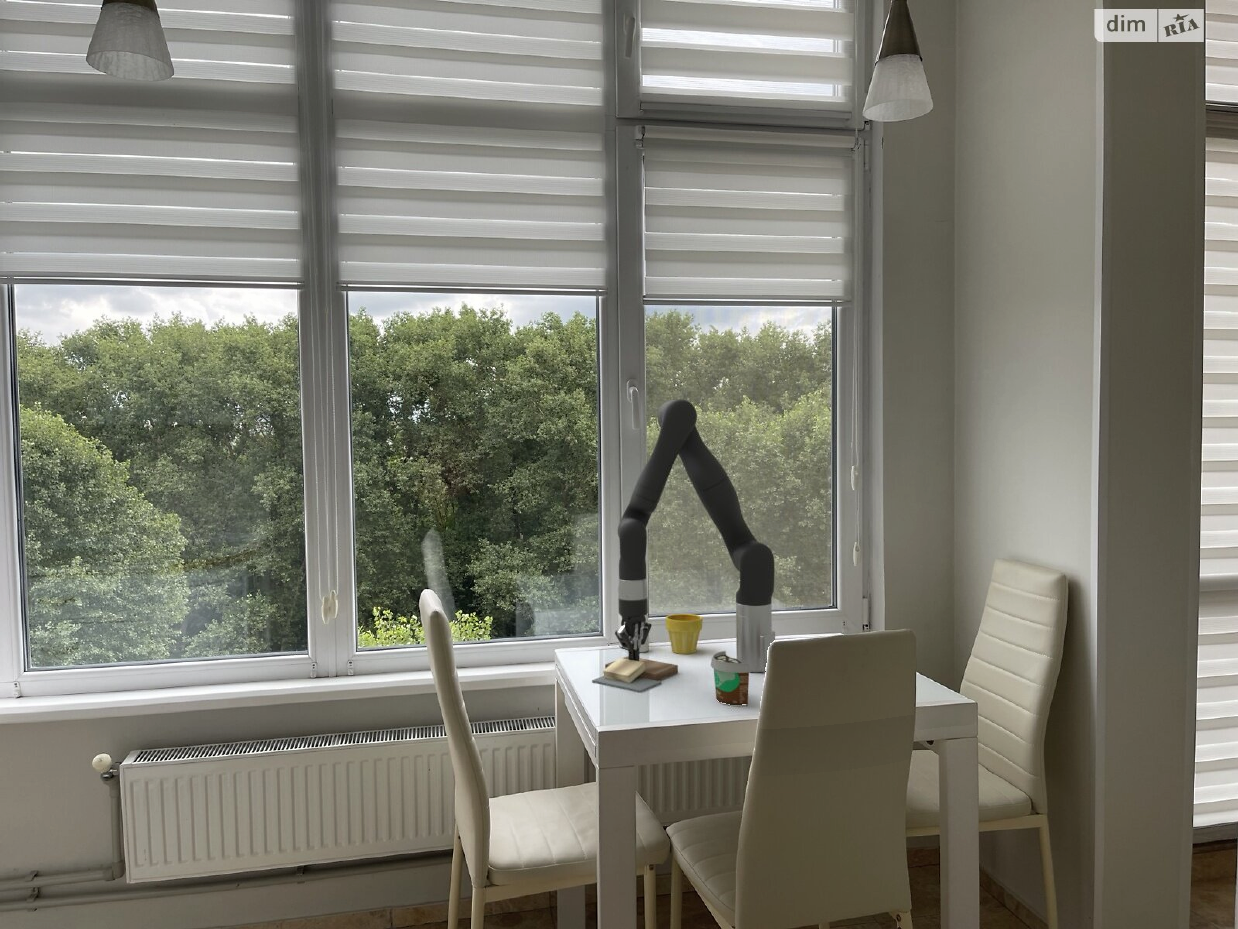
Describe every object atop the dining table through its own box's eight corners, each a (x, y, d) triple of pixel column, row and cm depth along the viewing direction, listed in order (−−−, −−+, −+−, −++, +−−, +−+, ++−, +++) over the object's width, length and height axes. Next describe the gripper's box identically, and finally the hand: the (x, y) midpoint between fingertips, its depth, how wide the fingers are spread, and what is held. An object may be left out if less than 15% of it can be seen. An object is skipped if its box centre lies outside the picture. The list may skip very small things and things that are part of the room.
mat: (661, 683, 212) (661, 681, 212) (640, 692, 205) (640, 690, 205) (613, 674, 221) (613, 672, 221) (592, 682, 214) (592, 680, 214)
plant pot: (701, 646, 248) (701, 613, 247) (703, 655, 238) (703, 620, 237) (665, 646, 248) (665, 613, 248) (666, 656, 238) (665, 621, 238)
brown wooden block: (677, 672, 221) (677, 665, 221) (655, 682, 213) (655, 674, 213) (628, 663, 231) (628, 656, 231) (605, 672, 223) (605, 664, 223)
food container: (701, 695, 202) (701, 653, 202) (725, 692, 204) (724, 650, 204) (726, 711, 191) (726, 666, 190) (751, 707, 193) (750, 663, 192)
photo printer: (616, 647, 249) (615, 604, 248) (627, 644, 252) (627, 602, 251) (639, 654, 241) (639, 610, 240) (651, 651, 244) (650, 608, 243)
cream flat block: (645, 669, 216) (644, 662, 216) (629, 683, 211) (628, 675, 211) (620, 664, 221) (619, 657, 221) (604, 677, 216) (603, 670, 216)
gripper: (628, 602, 212) (630, 671, 212) (660, 593, 222) (661, 659, 223) (605, 598, 216) (606, 666, 217) (636, 590, 227) (637, 655, 227)
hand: (634, 663), depth 220 cm, fingers closed
